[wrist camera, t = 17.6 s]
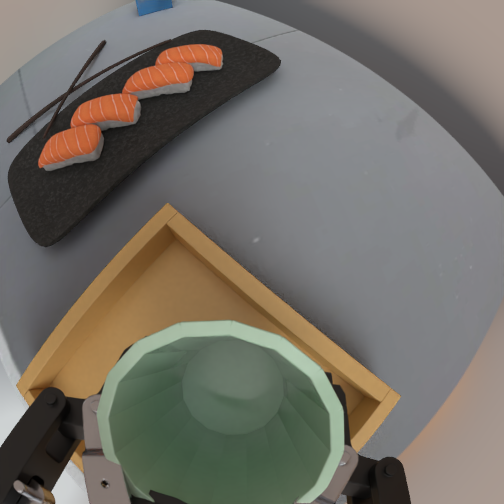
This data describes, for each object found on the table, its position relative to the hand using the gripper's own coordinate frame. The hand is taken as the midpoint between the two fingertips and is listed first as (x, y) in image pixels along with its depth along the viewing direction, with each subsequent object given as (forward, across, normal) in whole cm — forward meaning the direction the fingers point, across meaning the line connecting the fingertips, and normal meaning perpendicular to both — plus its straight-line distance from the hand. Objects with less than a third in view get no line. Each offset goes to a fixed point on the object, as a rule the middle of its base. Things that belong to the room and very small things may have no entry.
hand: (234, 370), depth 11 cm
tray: (+1, +2, +6) cm, 7 cm away
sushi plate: (+20, +20, -12) cm, 31 cm away
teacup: (+2, 0, +4) cm, 5 cm away
